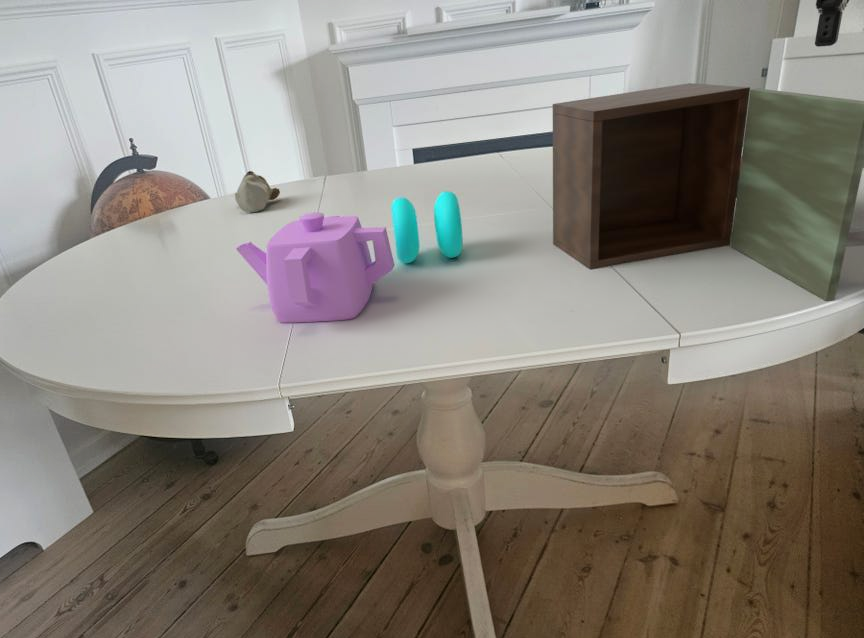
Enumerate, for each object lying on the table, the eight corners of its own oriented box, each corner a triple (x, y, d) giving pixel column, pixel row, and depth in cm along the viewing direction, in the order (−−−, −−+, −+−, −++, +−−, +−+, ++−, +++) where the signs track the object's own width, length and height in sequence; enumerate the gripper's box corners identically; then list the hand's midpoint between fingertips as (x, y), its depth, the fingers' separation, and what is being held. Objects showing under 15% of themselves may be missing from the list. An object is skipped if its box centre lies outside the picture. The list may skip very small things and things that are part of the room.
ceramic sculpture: (220, 177, 138) (233, 170, 152) (229, 217, 142) (240, 206, 155) (268, 171, 138) (277, 164, 152) (276, 211, 142) (283, 200, 155)
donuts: (397, 253, 103) (389, 192, 99) (457, 245, 103) (453, 183, 98) (398, 273, 94) (390, 207, 90) (465, 265, 94) (460, 198, 89)
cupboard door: (784, 240, 86) (810, 81, 77) (894, 292, 68) (945, 93, 59) (730, 246, 87) (750, 89, 78) (825, 301, 68) (866, 103, 59)
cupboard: (730, 245, 87) (750, 87, 78) (589, 270, 86) (593, 111, 77) (677, 223, 99) (689, 83, 90) (552, 244, 97) (552, 103, 88)
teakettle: (305, 339, 77) (285, 241, 71) (245, 307, 90) (225, 222, 84) (412, 296, 85) (402, 206, 80) (344, 272, 98) (331, 193, 92)
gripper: (888, -134, 66) (852, 48, 74) (903, -126, 75) (869, 37, 83) (804, -116, 71) (779, 54, 79) (827, -111, 79) (802, 42, 87)
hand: (825, 45), depth 81 cm, fingers closed
